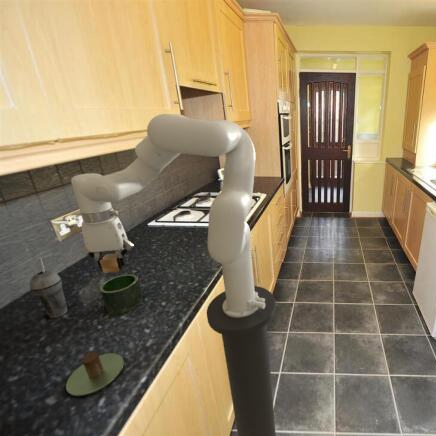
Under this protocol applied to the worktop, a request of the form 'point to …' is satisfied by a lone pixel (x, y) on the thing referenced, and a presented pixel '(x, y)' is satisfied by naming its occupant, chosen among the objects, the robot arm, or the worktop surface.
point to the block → (109, 263)
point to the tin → (121, 294)
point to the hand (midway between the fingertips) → (113, 267)
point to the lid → (94, 373)
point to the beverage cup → (49, 292)
